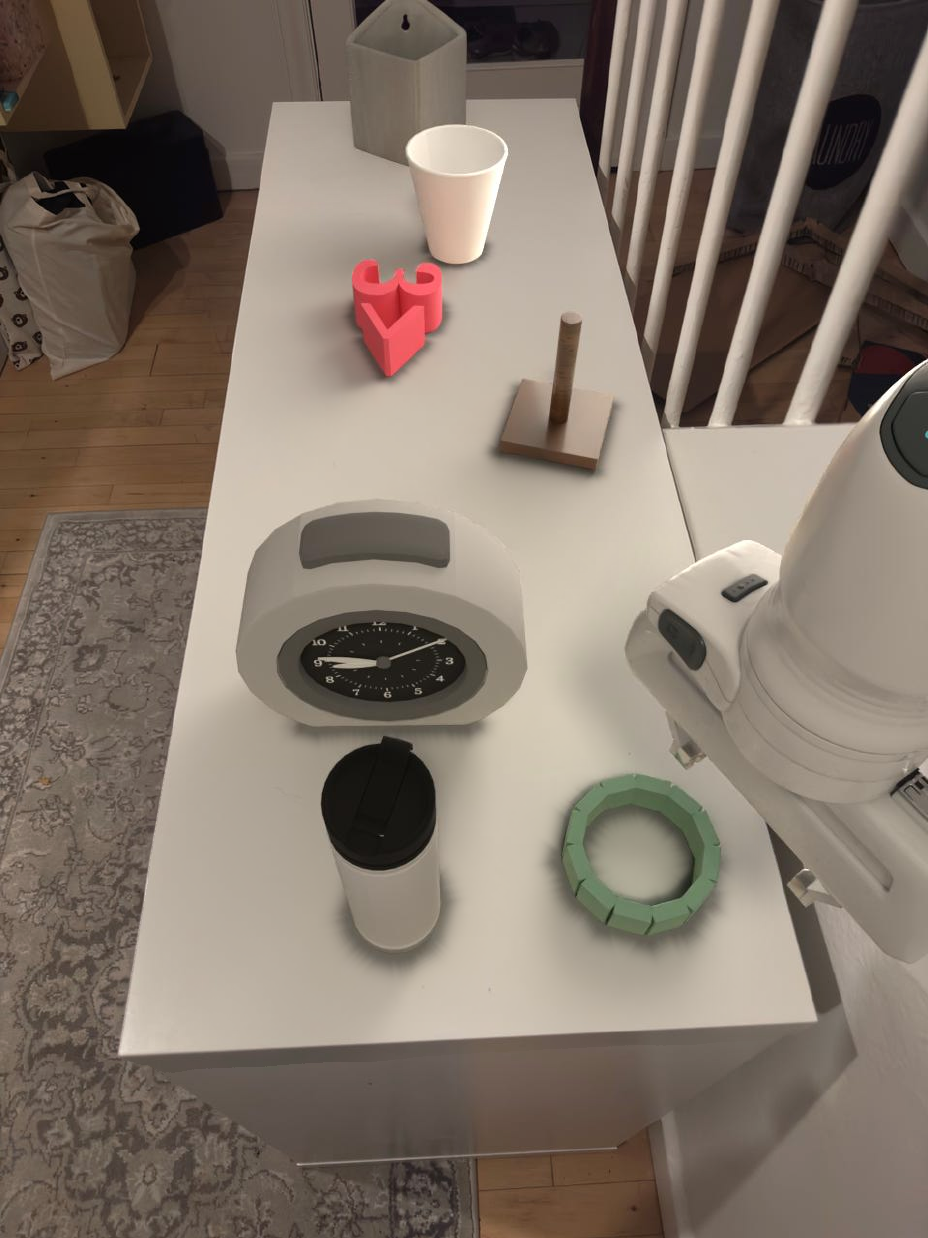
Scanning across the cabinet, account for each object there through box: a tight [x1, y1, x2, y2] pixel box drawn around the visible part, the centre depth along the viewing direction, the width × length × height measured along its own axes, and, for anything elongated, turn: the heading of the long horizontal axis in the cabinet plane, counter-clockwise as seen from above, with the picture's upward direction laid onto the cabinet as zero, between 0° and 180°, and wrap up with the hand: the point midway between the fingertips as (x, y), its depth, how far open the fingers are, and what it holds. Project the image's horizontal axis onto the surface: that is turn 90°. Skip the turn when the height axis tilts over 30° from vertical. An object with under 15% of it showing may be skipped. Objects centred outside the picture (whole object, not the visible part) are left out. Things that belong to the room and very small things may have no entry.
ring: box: [561, 773, 722, 937], centre depth 63 cm, size 11×11×3 cm
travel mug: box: [320, 735, 441, 954], centre depth 54 cm, size 6×7×20 cm
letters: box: [351, 259, 443, 377], centre depth 98 cm, size 14×10×5 cm
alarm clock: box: [235, 498, 528, 727], centre depth 65 cm, size 21×8×20 cm, turn 91°
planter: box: [344, 0, 468, 167], centre depth 116 cm, size 16×8×19 cm, turn 101°
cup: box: [405, 124, 509, 265], centre depth 105 cm, size 12×12×12 cm
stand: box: [499, 310, 615, 471], centre depth 86 cm, size 10×10×14 cm
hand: (743, 819), depth 49 cm, fingers open, 8 cm apart
